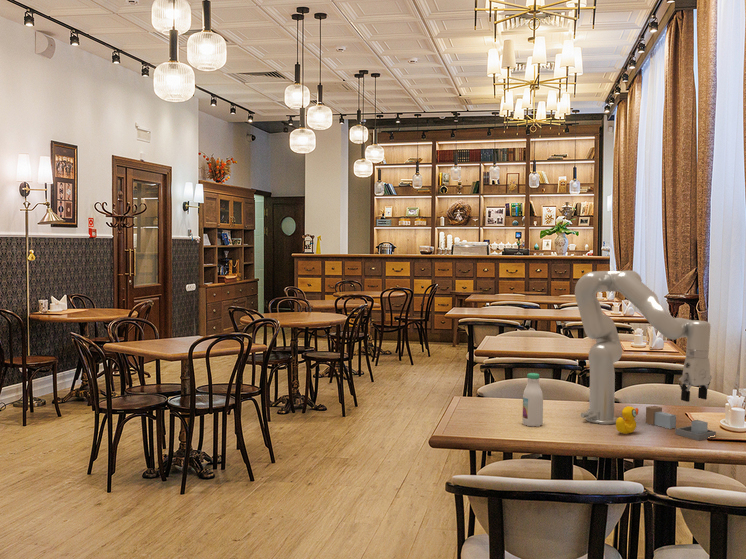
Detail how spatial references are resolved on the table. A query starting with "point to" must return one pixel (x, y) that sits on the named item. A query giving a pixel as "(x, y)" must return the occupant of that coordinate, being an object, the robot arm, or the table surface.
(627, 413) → the duckling
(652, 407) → the grey and brown blocks
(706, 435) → the dish
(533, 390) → the milk bottle
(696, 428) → the stub
